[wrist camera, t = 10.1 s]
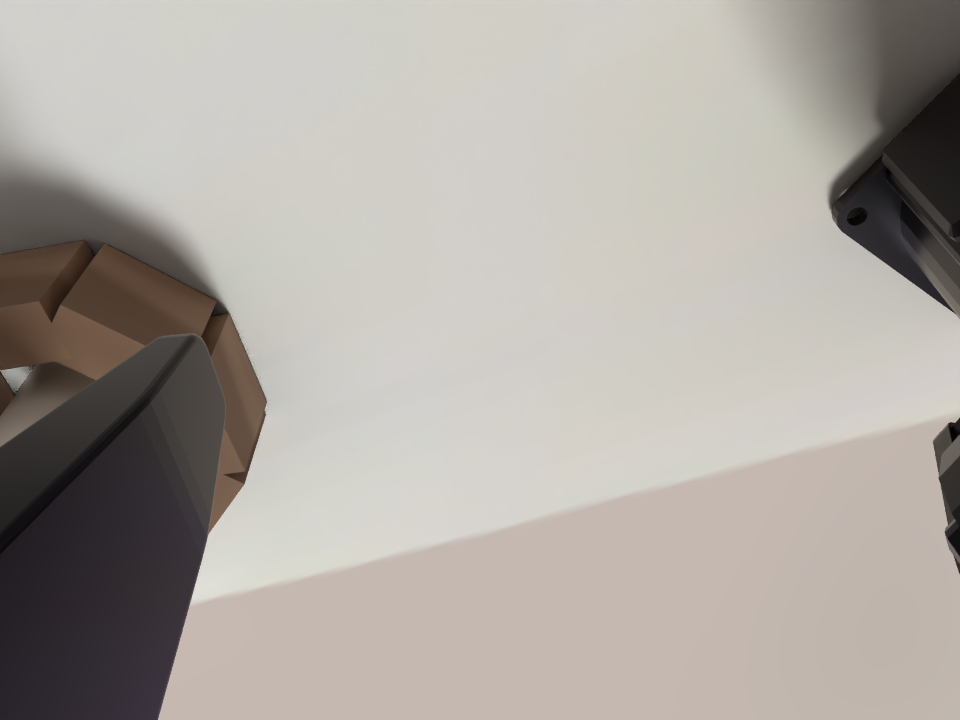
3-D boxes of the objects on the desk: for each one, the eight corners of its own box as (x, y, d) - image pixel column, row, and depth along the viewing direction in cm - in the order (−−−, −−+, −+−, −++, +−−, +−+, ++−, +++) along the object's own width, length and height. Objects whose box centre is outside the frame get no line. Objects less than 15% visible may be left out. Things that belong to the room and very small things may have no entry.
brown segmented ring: (311, 349, 25) (293, 416, 23) (185, 529, 30) (159, 602, 27) (-7, 185, 22) (-68, 243, 20) (-94, 413, 27) (-152, 483, 24)
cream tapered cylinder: (185, 369, 26) (-22, 823, 15) (139, 445, 27) (-75, 900, 17) (64, 310, 24) (-253, 760, 14) (24, 394, 26) (-283, 849, 16)
